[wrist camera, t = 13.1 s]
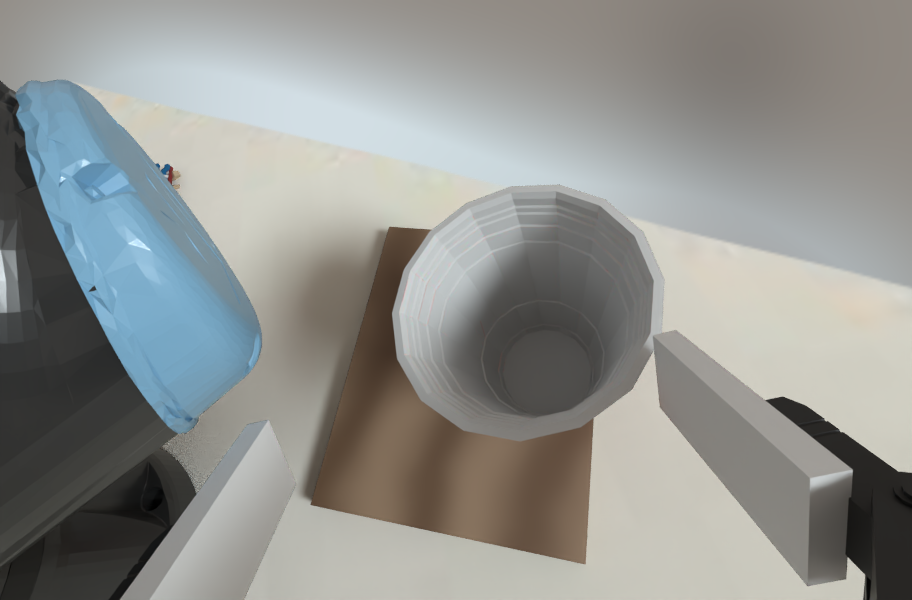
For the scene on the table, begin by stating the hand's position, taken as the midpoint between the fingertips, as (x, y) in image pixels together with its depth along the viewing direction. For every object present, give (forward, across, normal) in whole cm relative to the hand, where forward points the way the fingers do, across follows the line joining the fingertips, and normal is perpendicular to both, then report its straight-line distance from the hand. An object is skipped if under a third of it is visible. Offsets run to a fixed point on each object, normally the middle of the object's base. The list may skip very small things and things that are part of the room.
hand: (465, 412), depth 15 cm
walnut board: (+14, 0, -6) cm, 15 cm away
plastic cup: (+12, +4, -6) cm, 14 cm away
